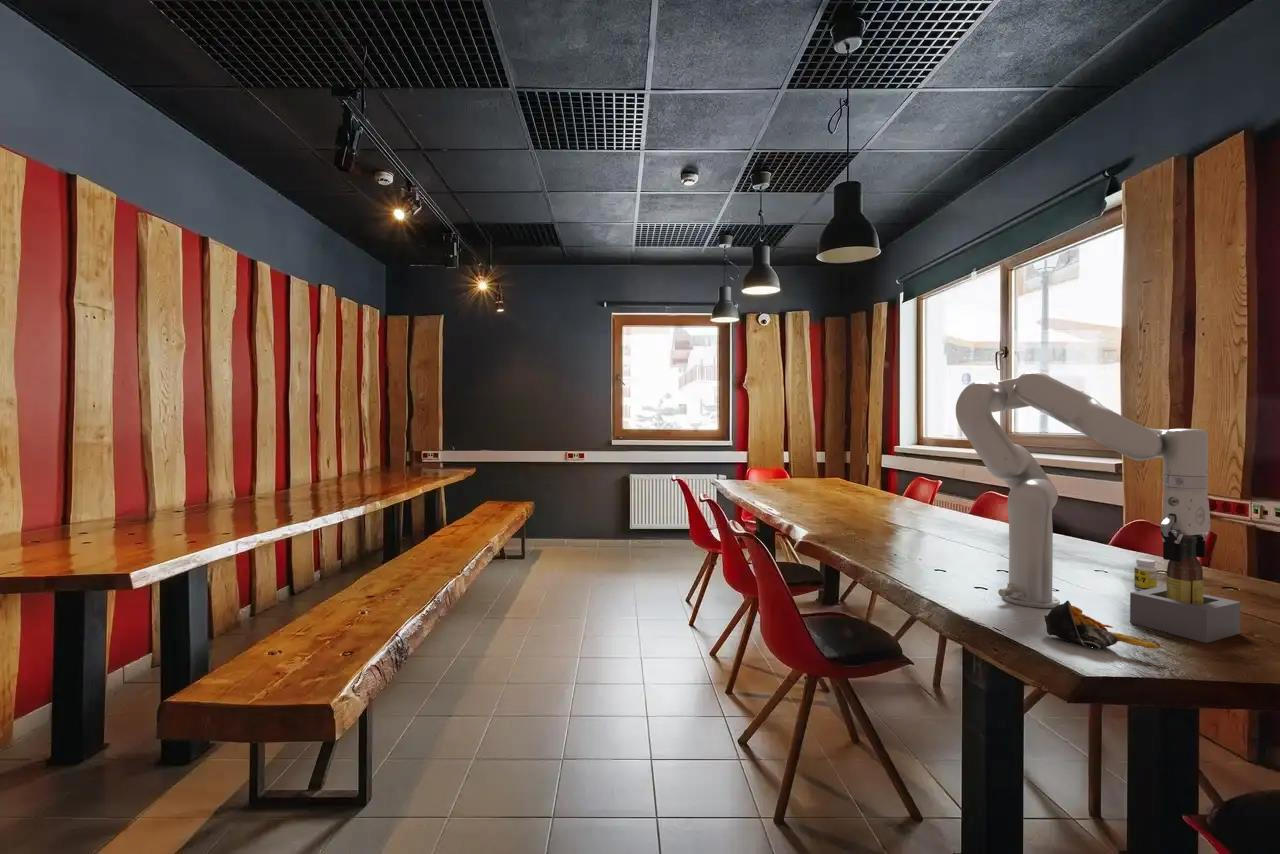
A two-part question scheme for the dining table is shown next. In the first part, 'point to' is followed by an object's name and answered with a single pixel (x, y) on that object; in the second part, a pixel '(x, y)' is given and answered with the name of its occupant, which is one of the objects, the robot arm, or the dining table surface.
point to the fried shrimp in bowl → (1087, 629)
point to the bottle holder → (1185, 615)
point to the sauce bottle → (1186, 574)
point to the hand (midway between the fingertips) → (1184, 558)
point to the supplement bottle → (1145, 574)
